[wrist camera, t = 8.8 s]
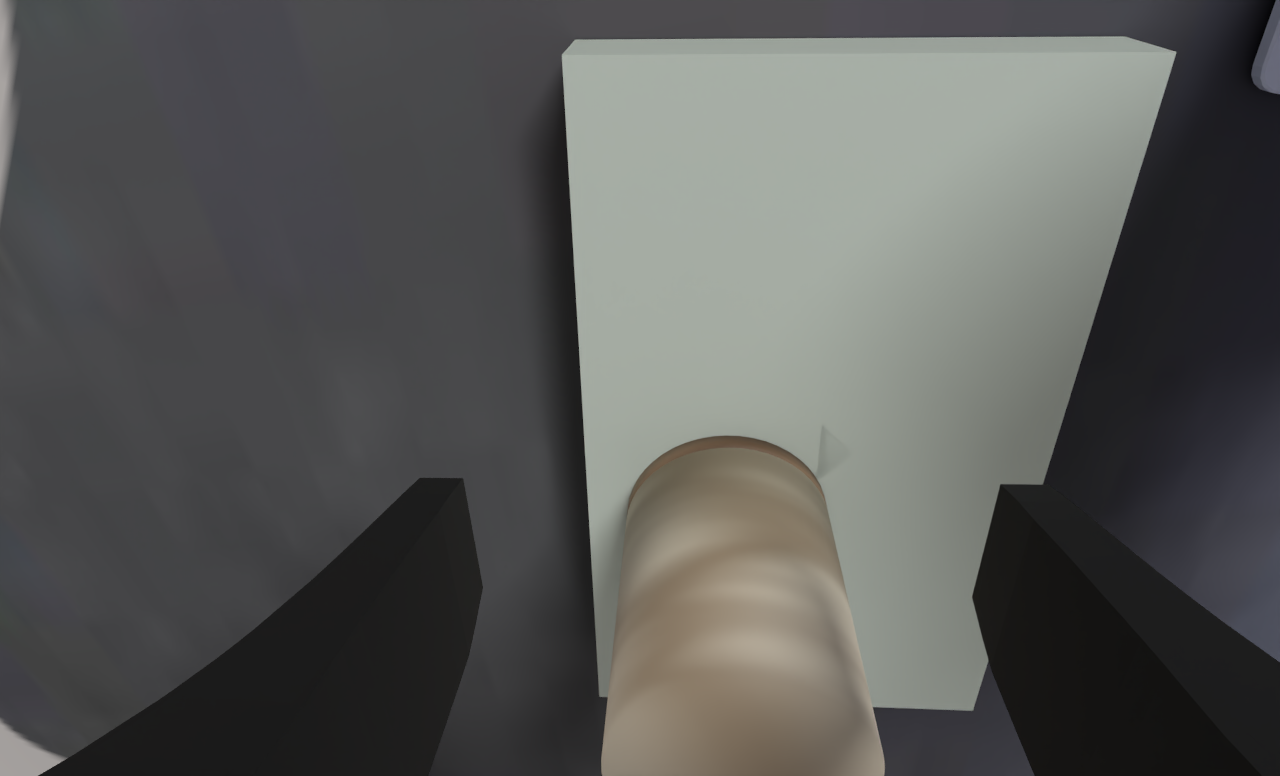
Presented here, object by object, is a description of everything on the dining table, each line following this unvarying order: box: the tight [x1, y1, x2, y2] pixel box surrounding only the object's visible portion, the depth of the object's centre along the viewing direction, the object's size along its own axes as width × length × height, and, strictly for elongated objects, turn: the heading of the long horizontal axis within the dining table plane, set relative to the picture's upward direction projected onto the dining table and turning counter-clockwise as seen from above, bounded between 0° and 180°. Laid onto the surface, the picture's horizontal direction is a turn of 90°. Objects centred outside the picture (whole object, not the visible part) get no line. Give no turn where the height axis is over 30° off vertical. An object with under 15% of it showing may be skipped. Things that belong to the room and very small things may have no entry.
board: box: [562, 36, 1176, 711], centre depth 20 cm, size 11×18×2 cm, turn 0°
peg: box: [601, 435, 885, 776], centre depth 18 cm, size 5×5×9 cm
